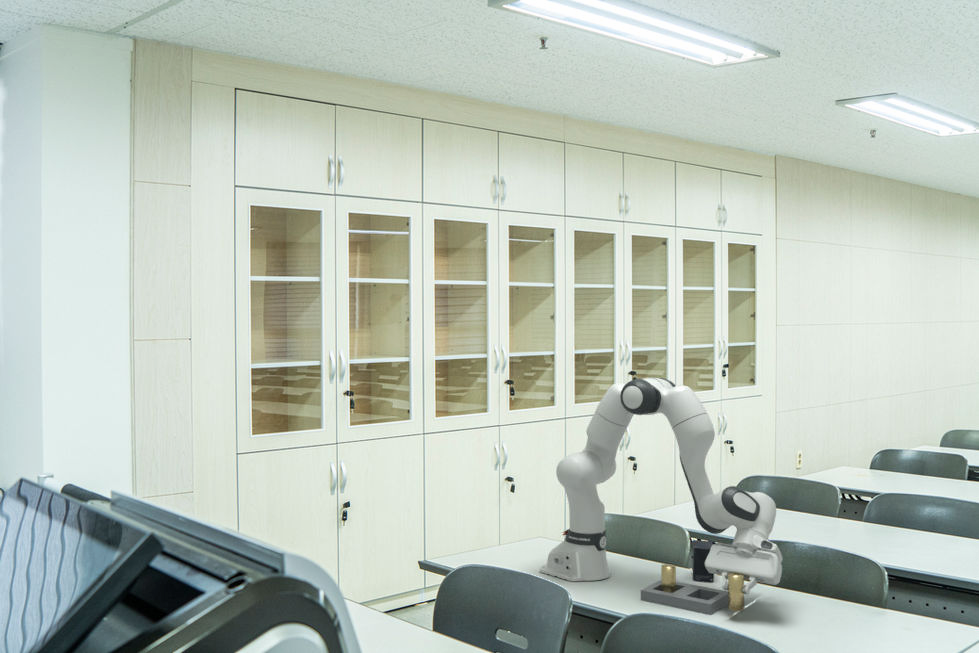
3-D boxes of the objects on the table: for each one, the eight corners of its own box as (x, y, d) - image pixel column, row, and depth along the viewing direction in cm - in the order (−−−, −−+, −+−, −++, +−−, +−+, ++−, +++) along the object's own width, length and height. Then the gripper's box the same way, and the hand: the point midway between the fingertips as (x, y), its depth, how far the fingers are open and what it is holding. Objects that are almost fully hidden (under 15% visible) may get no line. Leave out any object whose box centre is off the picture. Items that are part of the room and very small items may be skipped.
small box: (714, 582, 264) (714, 548, 264) (693, 581, 265) (692, 547, 265) (713, 573, 274) (712, 540, 274) (692, 572, 275) (691, 539, 275)
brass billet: (725, 609, 229) (725, 575, 229) (731, 605, 232) (731, 572, 232) (740, 612, 227) (740, 578, 227) (746, 608, 230) (746, 574, 230)
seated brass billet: (659, 597, 246) (658, 566, 246) (665, 594, 249) (665, 563, 249) (671, 600, 243) (671, 568, 243) (678, 597, 246) (678, 565, 247)
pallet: (640, 602, 244) (640, 590, 244) (663, 591, 255) (663, 579, 255) (710, 617, 231) (710, 604, 231) (731, 604, 242) (731, 592, 242)
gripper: (710, 534, 242) (695, 577, 234) (782, 546, 229) (769, 591, 221) (716, 547, 245) (702, 590, 237) (788, 559, 232) (775, 604, 225)
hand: (735, 591), depth 229 cm, fingers closed on brass billet, 4 cm apart
